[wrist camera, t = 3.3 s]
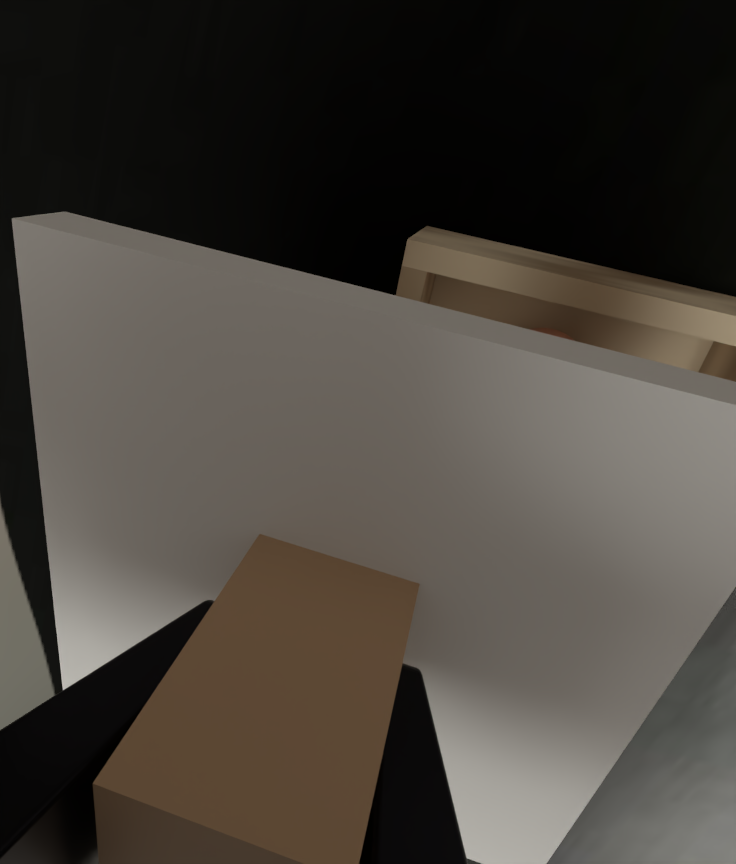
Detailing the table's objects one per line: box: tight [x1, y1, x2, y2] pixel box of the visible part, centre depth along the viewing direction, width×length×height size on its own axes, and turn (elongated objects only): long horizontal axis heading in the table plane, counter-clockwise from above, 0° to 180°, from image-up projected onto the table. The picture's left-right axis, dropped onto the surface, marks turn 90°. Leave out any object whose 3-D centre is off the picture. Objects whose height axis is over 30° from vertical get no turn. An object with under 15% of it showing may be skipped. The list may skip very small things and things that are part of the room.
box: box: [396, 226, 736, 382], centre depth 18 cm, size 10×10×4 cm
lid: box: [12, 212, 736, 864], centre depth 8 cm, size 10×10×5 cm
